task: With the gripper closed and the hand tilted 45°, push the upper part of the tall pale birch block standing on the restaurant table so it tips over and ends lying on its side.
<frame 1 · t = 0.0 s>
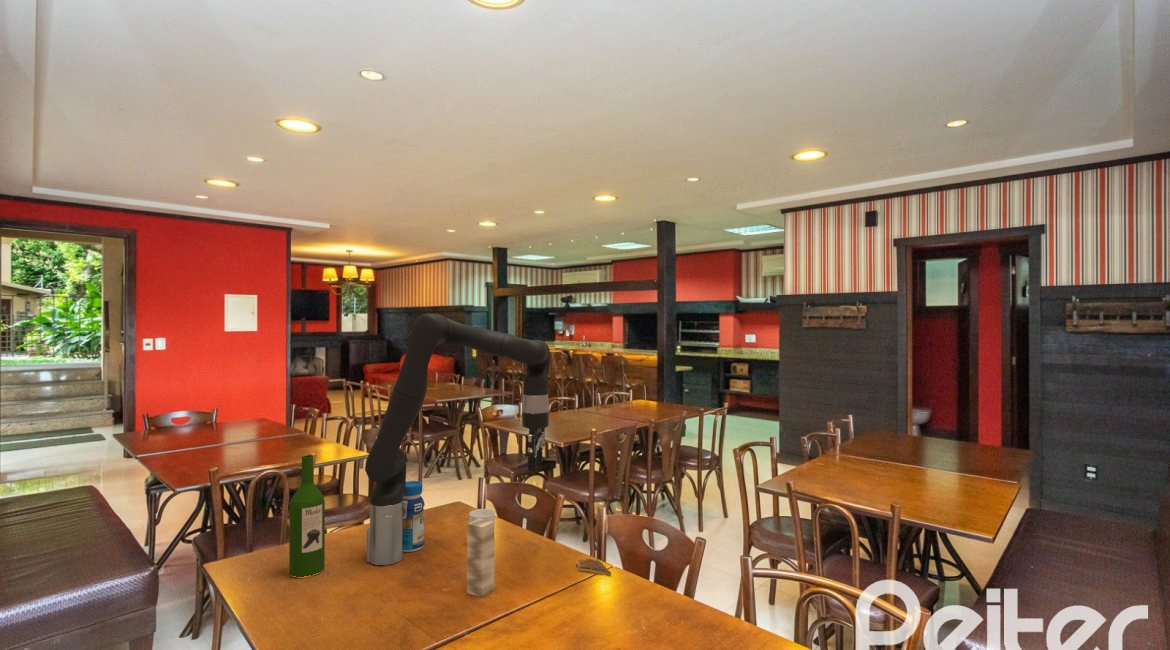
hand: (535, 466, 164), 29 cm above the table, tool pointing down, fingers open, 8 cm apart
white cup: (481, 544, 182), on the table
birch block: (480, 591, 150), on the table
shard: (595, 570, 165), on the table
wine bottle: (307, 572, 162), on the table
beverage bottle: (410, 548, 179), on the table
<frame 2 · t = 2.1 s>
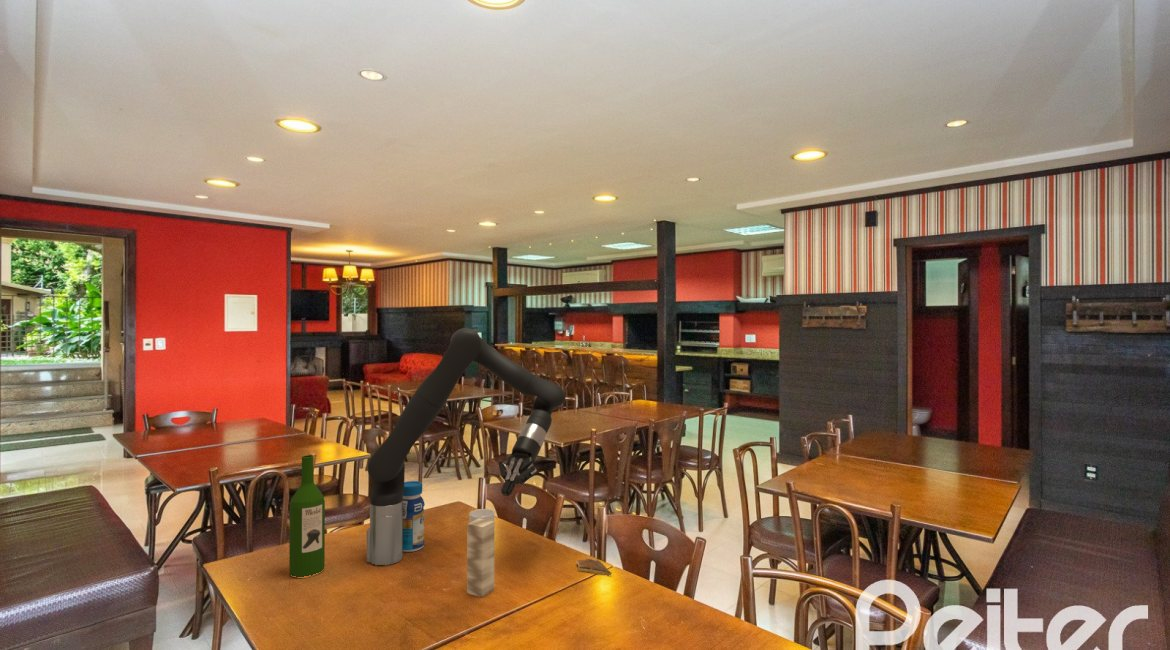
hand: (504, 494, 159), 23 cm above the table, tool tilted 45°, fingers closed
nothing on the table moved.
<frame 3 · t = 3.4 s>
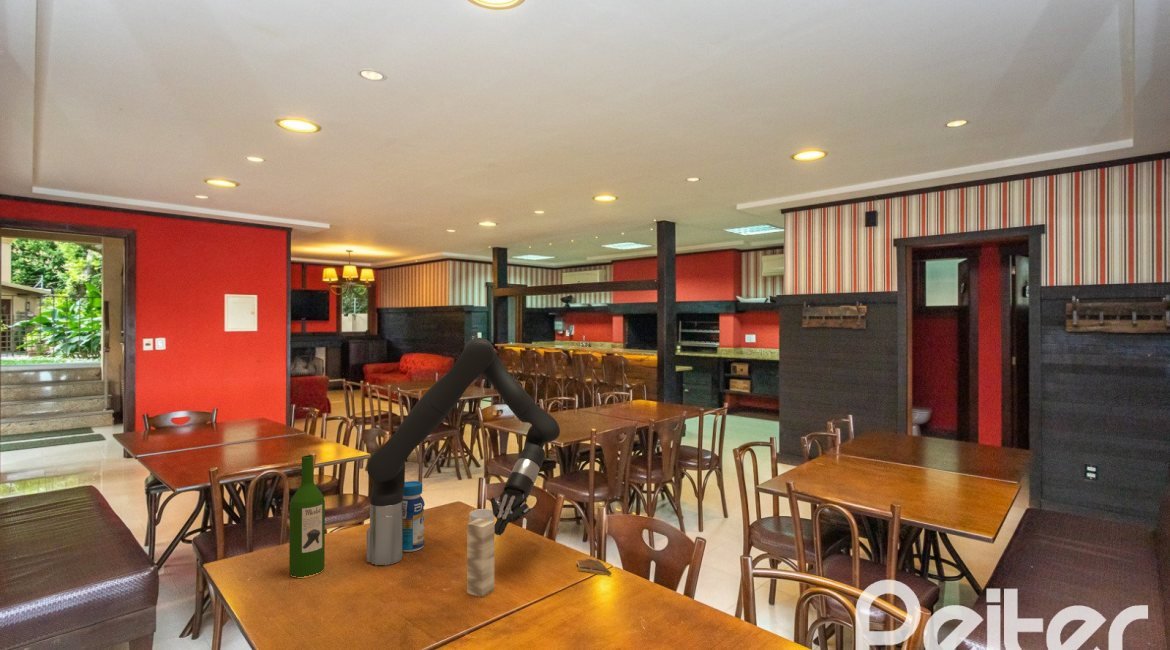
hand: (496, 533, 156), 13 cm above the table, tool tilted 45°, fingers closed
nothing on the table moved.
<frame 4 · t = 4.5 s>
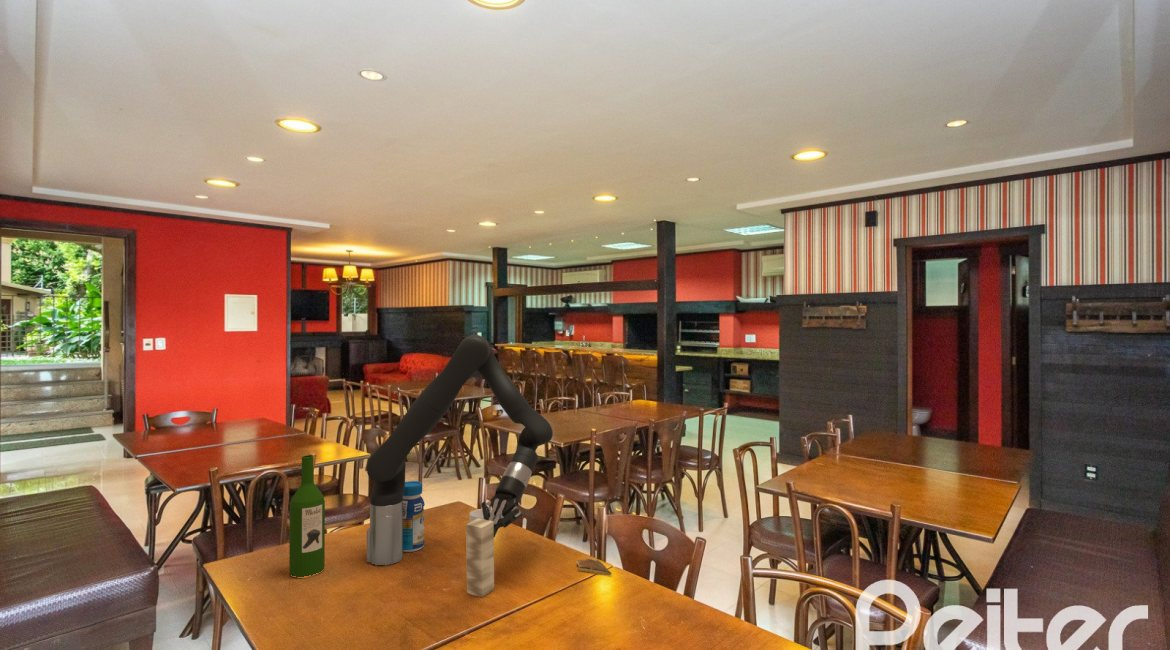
hand: (487, 538, 153), 13 cm above the table, tool tilted 45°, fingers closed
birch block: (480, 591, 150), on the table, touching gripper
everything else where it was.
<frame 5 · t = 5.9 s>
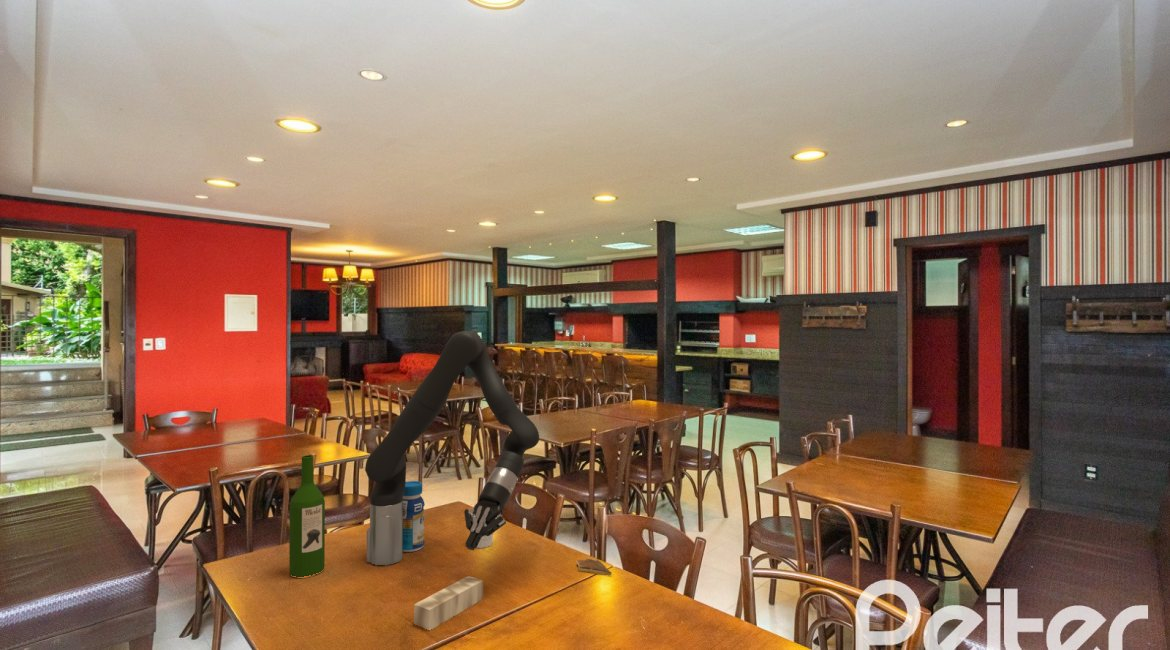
hand: (469, 548, 146), 13 cm above the table, tool tilted 45°, fingers closed
birch block: (475, 587, 147), point 2 cm above the table, tilted 90°
everything else where it was.
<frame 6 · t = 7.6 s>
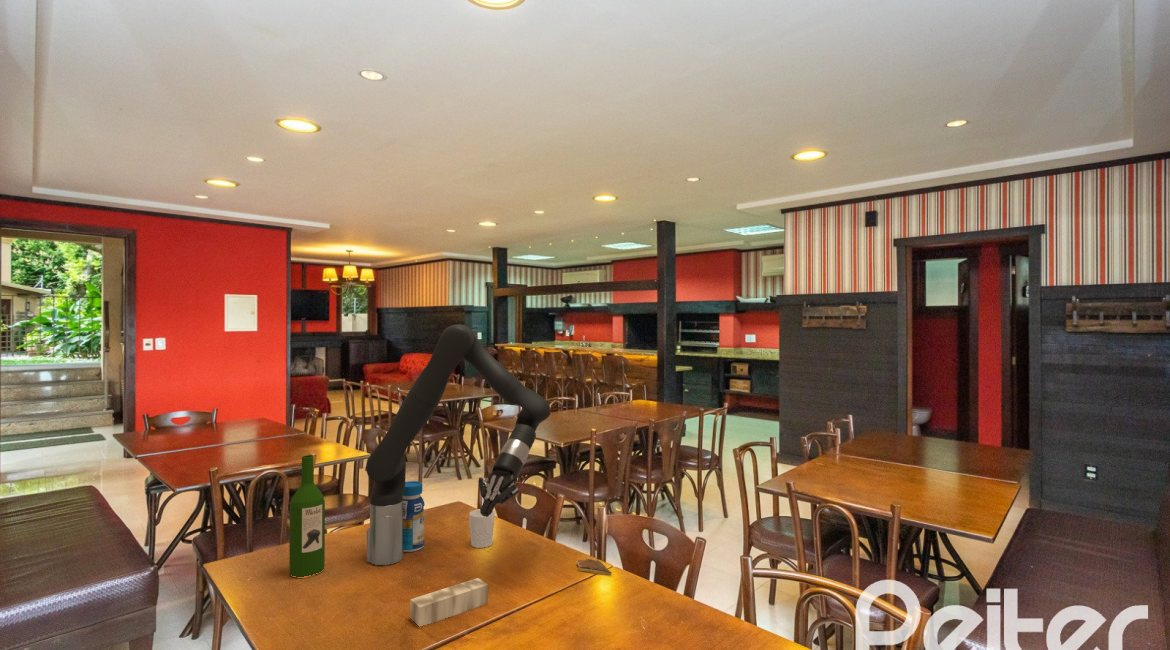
hand: (484, 515, 151), 20 cm above the table, tool tilted 45°, fingers closed
birch block: (482, 591, 146), point 2 cm above the table, tilted 90°
everything else where it was.
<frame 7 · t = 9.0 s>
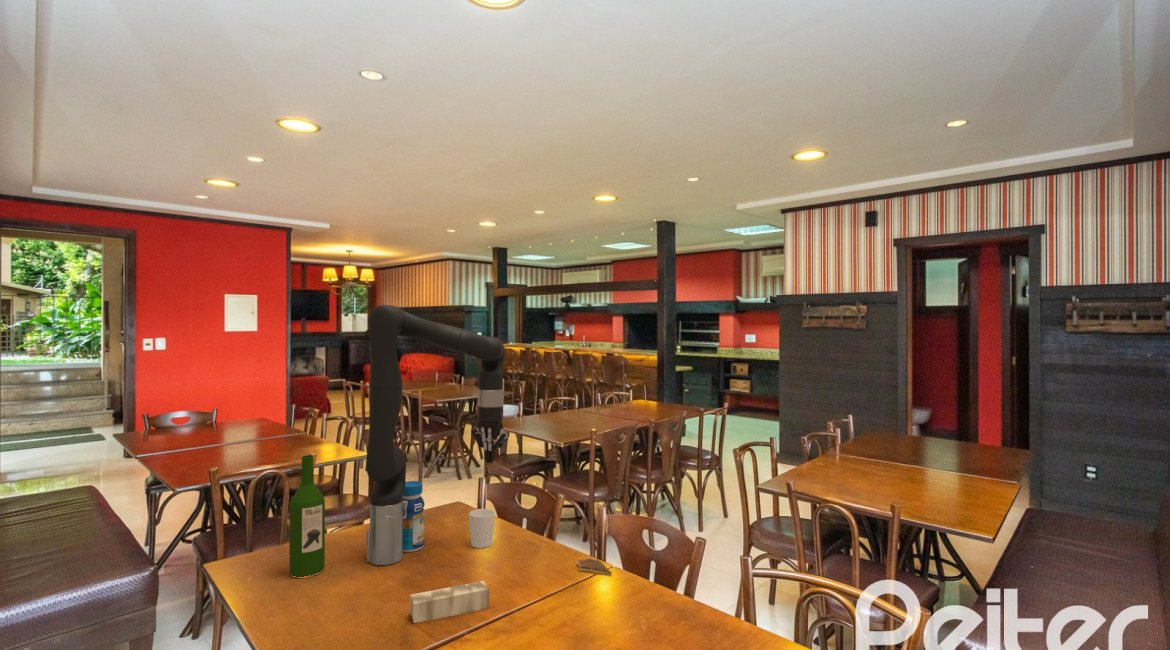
hand: (489, 462, 171), 29 cm above the table, tool pointing down, fingers closed
birch block: (486, 594, 144), point 2 cm above the table, tilted 90°
everything else where it was.
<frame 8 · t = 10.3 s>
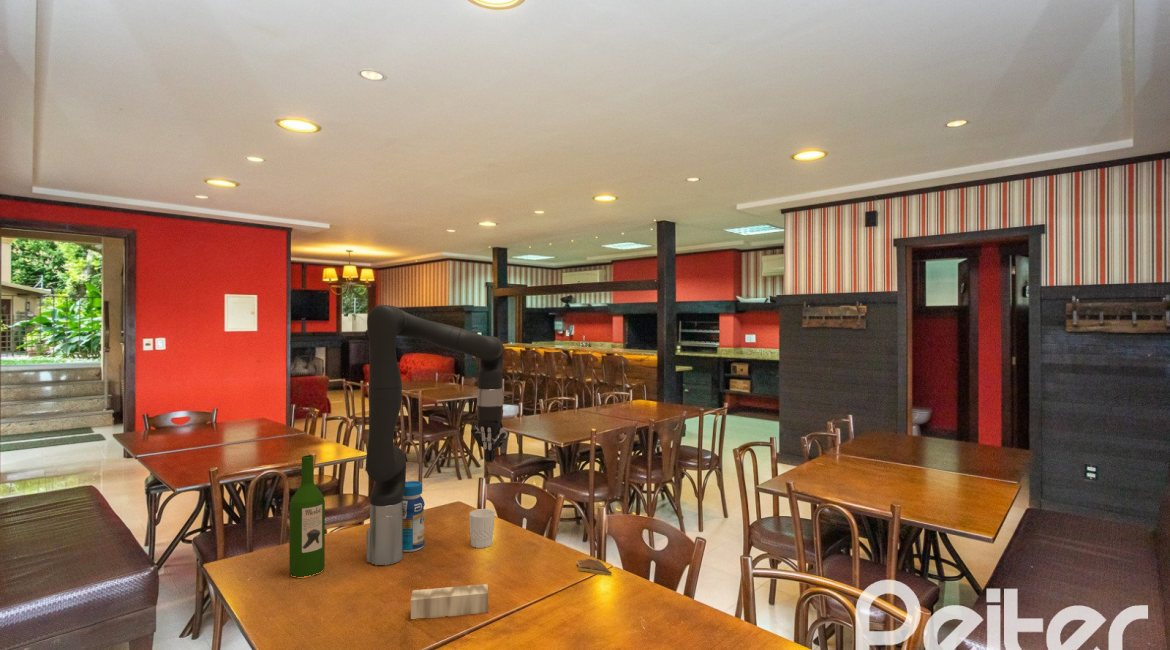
hand: (489, 461, 171), 29 cm above the table, tool pointing down, fingers closed
birch block: (487, 598, 142), point 2 cm above the table, tilted 90°
everything else where it was.
at the end: birch block tilted 90°; birch block inside the target area (7.3 cm from its centre), point 2.2 cm above the table; birch block touching table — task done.
